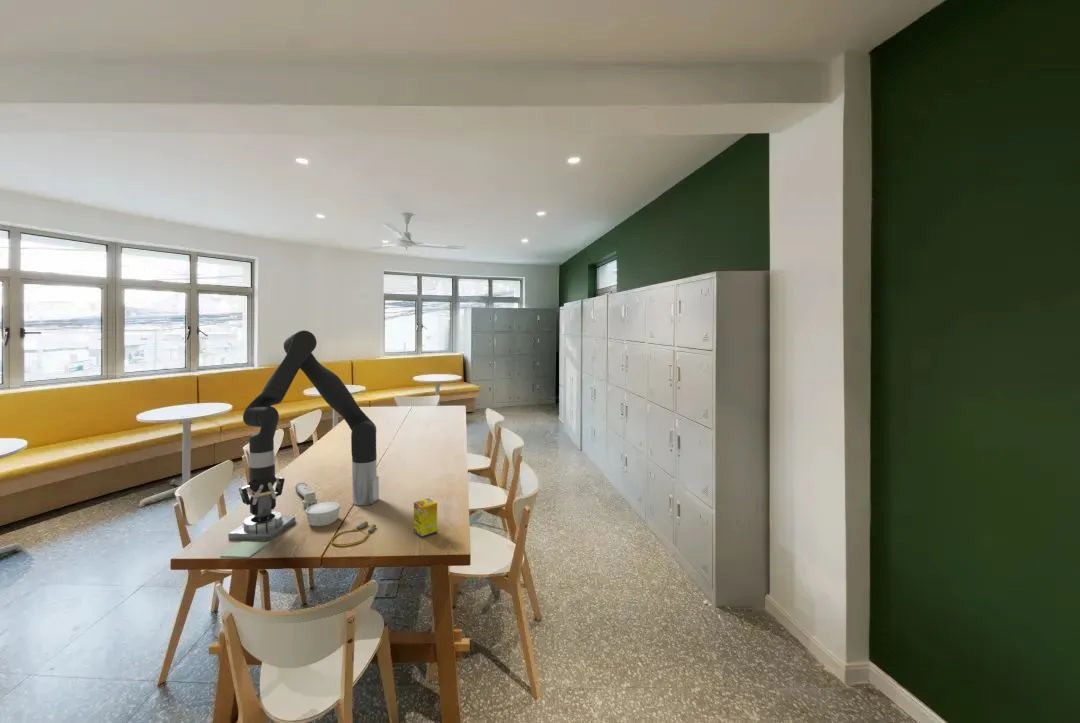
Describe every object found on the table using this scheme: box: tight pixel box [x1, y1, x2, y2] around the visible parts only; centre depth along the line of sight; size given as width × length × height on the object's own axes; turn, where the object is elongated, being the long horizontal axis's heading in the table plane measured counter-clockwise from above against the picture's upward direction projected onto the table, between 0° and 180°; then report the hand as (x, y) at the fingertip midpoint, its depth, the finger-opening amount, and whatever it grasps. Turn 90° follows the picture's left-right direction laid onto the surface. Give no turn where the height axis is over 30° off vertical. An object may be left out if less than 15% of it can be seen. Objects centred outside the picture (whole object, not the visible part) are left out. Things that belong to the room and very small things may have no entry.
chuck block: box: [227, 510, 296, 541], centre depth 148 cm, size 14×14×4 cm
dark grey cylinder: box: [254, 490, 273, 522], centre depth 148 cm, size 5×5×12 cm
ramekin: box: [305, 501, 341, 527], centre depth 156 cm, size 11×11×5 cm
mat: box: [220, 541, 269, 559], centre depth 135 cm, size 9×9×1 cm
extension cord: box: [330, 520, 377, 548], centre depth 145 cm, size 12×16×2 cm
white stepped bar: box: [294, 481, 319, 509], centre depth 176 cm, size 5×7×25 cm
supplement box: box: [413, 497, 438, 539], centre depth 148 cm, size 6×6×11 cm
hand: (263, 511), depth 148 cm, fingers closed on dark grey cylinder, 5 cm apart
